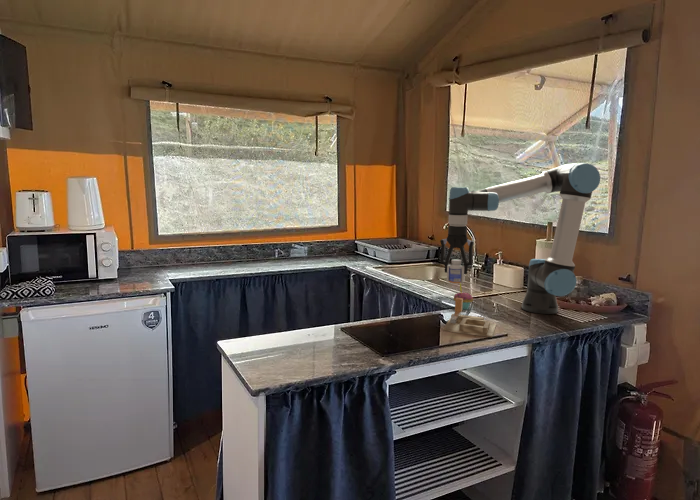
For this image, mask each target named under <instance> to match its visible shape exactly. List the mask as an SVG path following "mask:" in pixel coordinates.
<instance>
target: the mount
mask: <svg viewBox="0 0 700 500" xmlns="http://www.w3.org/2000/svg"><path fill="white" fill-rule="evenodd" d="M453 314H454V313H451V315H450V318H449V320H448V321H447V322H446V323H445V325H444V327H443V328H442V331H443V332H449V333H450V332H451V333H457V334H458V333H459V334H465V335H473V336H479V337H487V338H493V336H494V333H495V329H496V327H497V323H493V322H491V321H490V320H487V319H486V320H485V317H481V316H473V315H466V314H465V315H464V314H461V315H460V317H459V319H458V320H457V322H456V324H455V323H450V319H451V317H452V316H453Z"/></svg>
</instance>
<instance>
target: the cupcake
mask: <svg viewBox="0 0 700 500" xmlns="http://www.w3.org/2000/svg"><path fill="white" fill-rule="evenodd" d="M462 289H463V288H462V283H461V284H459V292H457V293H455V294H454V295H453V301H454V302H455V299H456V298H463V304H462V311H463V310H468V309H469V307H470V304H471V303H473V302H474V297H473V296H472V294H470V293H469V292H463V290H462Z"/></svg>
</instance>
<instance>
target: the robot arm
mask: <svg viewBox="0 0 700 500" xmlns="http://www.w3.org/2000/svg"><path fill="white" fill-rule="evenodd" d="M600 183H601V174H600V171H599V170H598V168H597V167H596V166H595V165H593V164H592V163H588V162H575V163H566V164H563V165H560V166H557V167H554V168H551V169H548V170H543V171H542V173H541V174H538V175H533V176H531V177H526V178H522V179H521V178H520V179H517V180H515V181H514V180H513V181H509V182H505V183H502V184H498V185H493V186H489V187H486V188H483V189H482V188H481V189H478V190H470V189H469V187H468V186H467V187H466V186H453V187H452V186H451V187H450V190H449V195H448V227H447V237H446V238H443V239H440V241H439V242H440V245H441V247H440V259H439V260H440V262H439V263H441V264H443V266H444V273H446V281H447V282H449V267H450V265H451V264H450V260H451V257H452V254H453V251H454V249H455V248H456V249H459V251H460V254H461V258H462V262H463V265H462V283H464V282H465V281H466V280H465V279H466V278H465V275H467V274H468V268H469V266H472V265H473V261H474V259H473V247H474V244H475V241H474V240H470V239H469V238H468V226H467V225H468V217H469V216H468V215H469V213H468V212H469V211H470V212H472V211H473V212H474V211H476V212H477V211H478V212H482V211H483V212H493V211H497V210H498V208H499V204H501V203H505V202H508V201H509V202H510V201H513V200H516V199H520V198H525V197H528V196H533V195H536V194H541V193H544V192H545V193H547V194H551V193H556V192H557V193H558V192H559V196H560V197H561V205H560V209H559V214H558V218H557V223H556V228H555V232H554V237H553V242H552V247H551V250H550V254H549V257H547V258H532V259H530V260H529V263H528V274H527V289H526V293H525V295H524V297H523V300H522V302H521V309H522V310H523V311H527V312H529V313H533V314H542V315H554V314H557V313H558V312H559V304H558V300H557V297H565V296H568V294H571V293H572V292H573V291H574V290H575V288H576V286H577V277H576V275H575V267H576V264H575V263H574V261H573V258H574V253H575V249H576V245H577V242H578V236H579V232H580V228H581V225H582V224H581V223H582V219H583V215H584V210H585V205H586V203H587V202H589V201H590V200H591V199H592V194H593V192H594V191H595V190H596V189H597V188H598V187H599V185H600ZM447 243H448V245H449V249H448V252H447V255H445V254H446V244H447ZM466 244H467V245H468V259H467V255H466V251H465V245H466ZM445 256H446V257H445Z"/></svg>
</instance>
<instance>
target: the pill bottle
mask: <svg viewBox="0 0 700 500" xmlns="http://www.w3.org/2000/svg"><path fill="white" fill-rule="evenodd" d="M461 264H462V260H461V259H459V258H458V259H457V258H456V259H455V258H454V259H451V264H449V265H450V267H449V281H448V282H449V284H450V285H460V284H461V285H462V284H463V282H462V266H463V265H461Z"/></svg>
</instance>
